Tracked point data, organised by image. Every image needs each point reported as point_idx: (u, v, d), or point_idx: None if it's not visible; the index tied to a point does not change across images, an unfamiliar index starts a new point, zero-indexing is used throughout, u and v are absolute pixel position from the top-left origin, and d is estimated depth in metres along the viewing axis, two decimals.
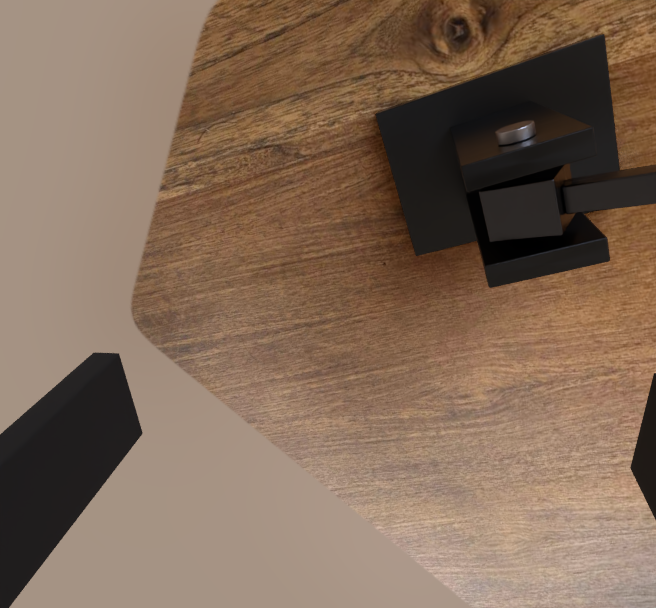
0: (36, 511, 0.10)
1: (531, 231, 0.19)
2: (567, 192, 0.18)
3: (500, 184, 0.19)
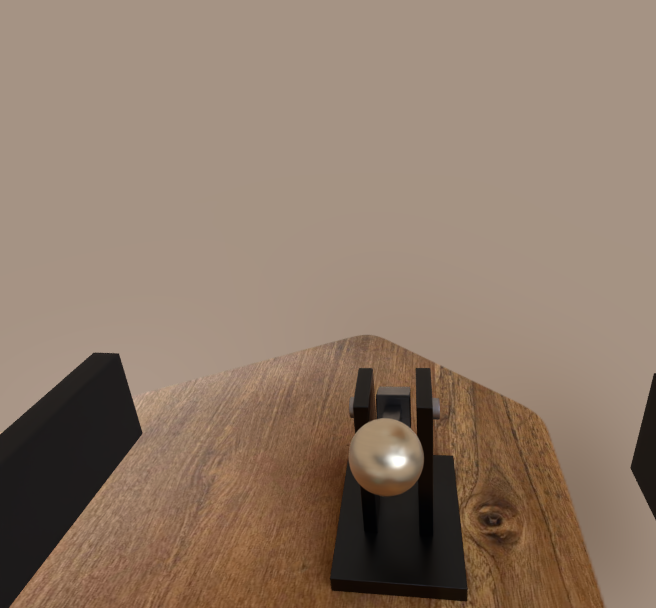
0: (36, 511, 0.10)
1: (381, 391, 0.34)
2: (397, 406, 0.32)
3: None
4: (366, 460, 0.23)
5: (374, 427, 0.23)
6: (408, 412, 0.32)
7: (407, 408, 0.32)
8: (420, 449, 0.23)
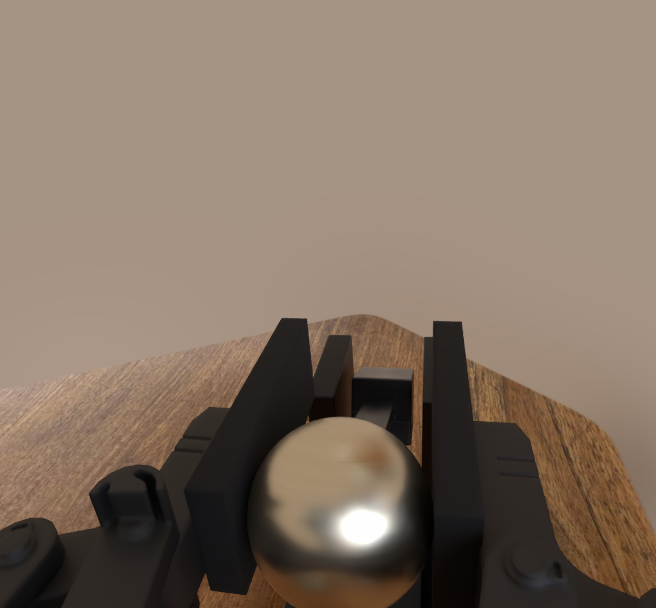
0: None
1: (363, 373, 0.19)
2: (389, 399, 0.18)
3: (413, 382, 0.20)
4: (278, 528, 0.08)
5: (310, 439, 0.09)
6: (408, 411, 0.18)
7: (406, 403, 0.18)
8: (426, 501, 0.09)
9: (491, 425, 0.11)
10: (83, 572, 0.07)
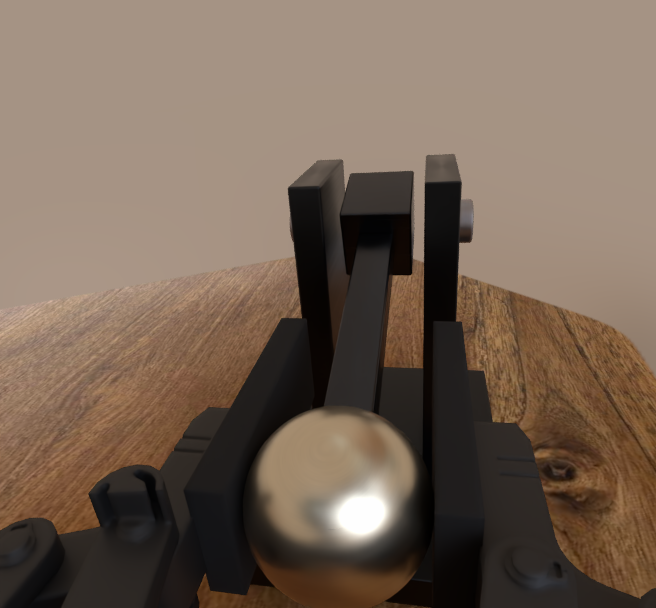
0: None
1: (352, 196, 0.16)
2: (385, 236, 0.15)
3: (413, 192, 0.17)
4: (276, 578, 0.08)
5: (295, 493, 0.08)
6: (407, 244, 0.16)
7: (405, 237, 0.15)
8: (426, 519, 0.08)
9: (491, 425, 0.11)
10: (83, 572, 0.07)
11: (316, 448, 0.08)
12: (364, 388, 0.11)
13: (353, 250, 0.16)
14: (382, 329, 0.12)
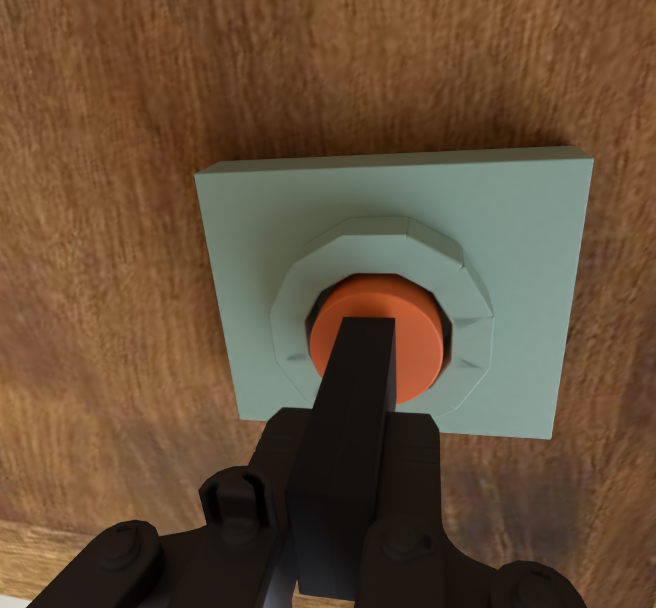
0: None
1: None
2: None
3: None
4: None
5: None
6: None
7: None
8: None
9: (406, 415, 0.11)
10: (189, 570, 0.07)
11: None
12: None
13: None
14: None
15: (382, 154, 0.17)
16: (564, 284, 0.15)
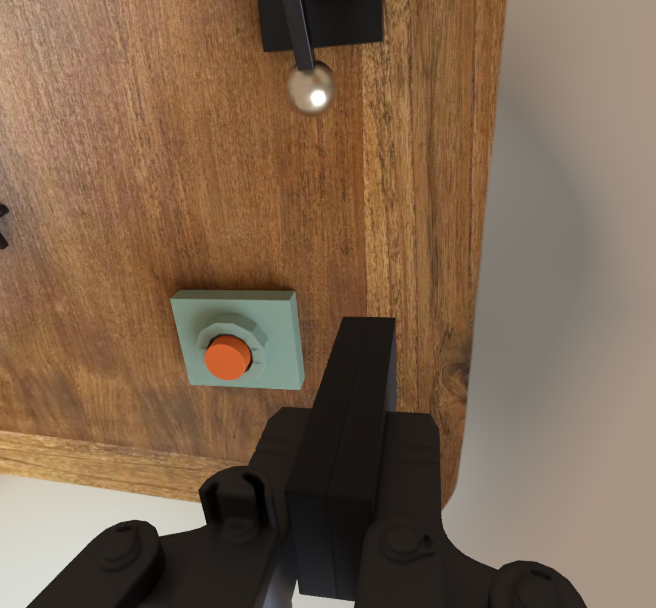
0: None
1: None
2: None
3: None
4: None
5: (304, 113, 0.34)
6: None
7: None
8: (335, 97, 0.33)
9: (406, 415, 0.11)
10: (189, 570, 0.07)
11: (305, 105, 0.33)
12: (308, 59, 0.31)
13: None
14: (306, 28, 0.30)
15: (235, 290, 0.48)
16: (290, 336, 0.47)
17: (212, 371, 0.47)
